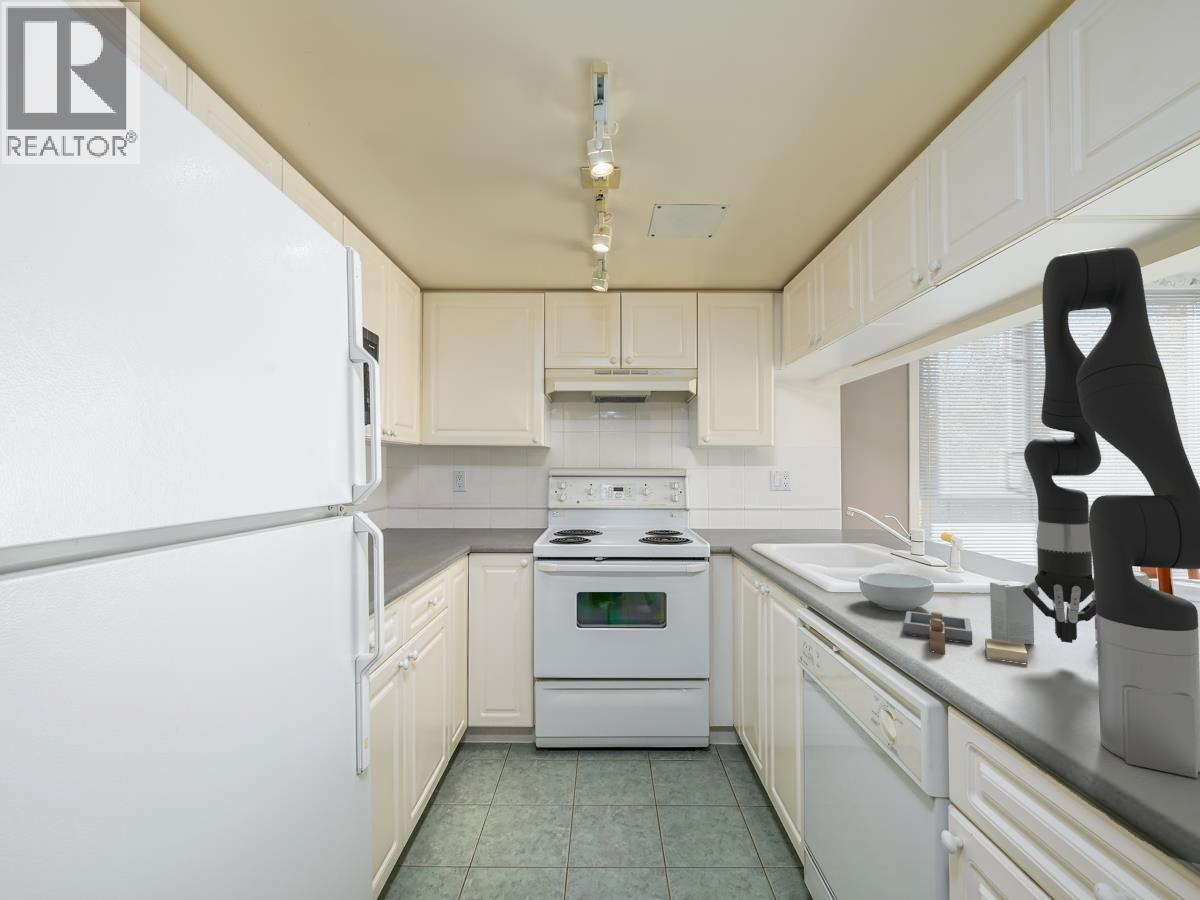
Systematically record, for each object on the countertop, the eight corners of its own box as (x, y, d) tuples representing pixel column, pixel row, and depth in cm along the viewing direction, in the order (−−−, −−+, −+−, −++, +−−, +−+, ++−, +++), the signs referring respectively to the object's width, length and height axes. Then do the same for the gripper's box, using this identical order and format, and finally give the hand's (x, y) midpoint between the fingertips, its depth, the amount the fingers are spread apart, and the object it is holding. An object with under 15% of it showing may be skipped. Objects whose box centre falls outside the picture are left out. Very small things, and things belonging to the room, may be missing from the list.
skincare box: (1016, 637, 112) (1014, 579, 112) (1036, 645, 108) (1034, 584, 108) (989, 639, 112) (987, 581, 112) (1008, 646, 107) (1006, 586, 107)
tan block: (1027, 666, 98) (1027, 653, 98) (987, 660, 101) (987, 647, 101) (1023, 656, 103) (1023, 643, 103) (985, 650, 106) (985, 638, 106)
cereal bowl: (882, 594, 148) (881, 569, 148) (947, 608, 134) (946, 580, 134) (845, 605, 139) (845, 577, 139) (911, 620, 125) (910, 590, 125)
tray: (972, 643, 109) (972, 631, 109) (904, 634, 116) (904, 622, 116) (969, 629, 118) (969, 618, 118) (906, 621, 124) (906, 611, 124)
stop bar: (945, 653, 104) (944, 622, 104) (930, 651, 105) (929, 621, 105) (944, 641, 111) (943, 612, 111) (930, 639, 112) (929, 610, 112)
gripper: (1020, 547, 98) (1023, 641, 98) (1118, 553, 91) (1121, 654, 91) (1015, 540, 105) (1018, 629, 105) (1107, 545, 97) (1109, 640, 98)
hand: (1066, 641), depth 98 cm, fingers closed
